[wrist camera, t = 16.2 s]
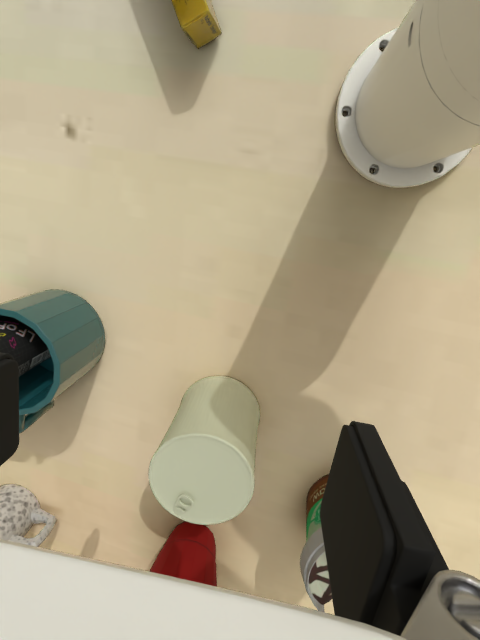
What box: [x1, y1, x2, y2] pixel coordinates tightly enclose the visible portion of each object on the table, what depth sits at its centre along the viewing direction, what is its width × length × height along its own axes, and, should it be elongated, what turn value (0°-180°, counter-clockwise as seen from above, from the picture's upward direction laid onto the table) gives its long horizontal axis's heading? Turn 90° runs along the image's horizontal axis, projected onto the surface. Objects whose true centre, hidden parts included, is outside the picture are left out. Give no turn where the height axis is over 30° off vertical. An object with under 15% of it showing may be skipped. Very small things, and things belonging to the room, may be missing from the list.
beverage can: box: [0, 316, 51, 376], centre depth 35 cm, size 6×6×12 cm
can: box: [149, 376, 260, 525], centre depth 36 cm, size 9×9×12 cm
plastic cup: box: [149, 522, 217, 587], centre depth 41 cm, size 11×11×12 cm
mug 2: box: [0, 484, 57, 547], centre depth 45 cm, size 10×7×7 cm, turn 86°
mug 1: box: [0, 289, 105, 433], centre depth 37 cm, size 13×10×9 cm
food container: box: [300, 474, 332, 612], centre depth 38 cm, size 12×6×10 cm, turn 138°
